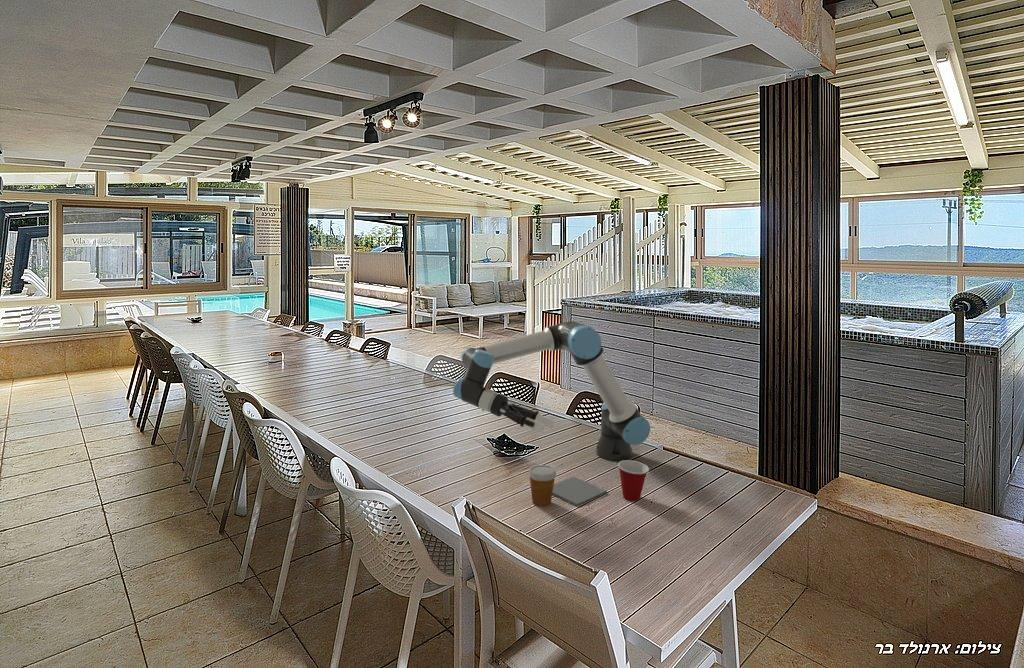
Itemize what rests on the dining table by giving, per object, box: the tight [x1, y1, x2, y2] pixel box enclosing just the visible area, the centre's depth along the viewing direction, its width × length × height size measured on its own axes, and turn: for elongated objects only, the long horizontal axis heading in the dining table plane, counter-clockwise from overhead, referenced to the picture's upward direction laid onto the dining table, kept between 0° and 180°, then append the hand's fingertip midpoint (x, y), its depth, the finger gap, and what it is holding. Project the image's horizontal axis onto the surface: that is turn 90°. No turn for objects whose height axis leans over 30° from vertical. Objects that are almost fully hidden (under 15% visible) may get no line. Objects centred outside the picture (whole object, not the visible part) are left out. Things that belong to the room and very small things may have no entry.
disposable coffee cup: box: [527, 464, 557, 508], centre depth 195 cm, size 10×10×12 cm
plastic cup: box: [617, 459, 650, 502], centre depth 200 cm, size 11×11×12 cm
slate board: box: [552, 476, 608, 507], centre depth 205 cm, size 16×16×1 cm
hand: (548, 426), depth 196 cm, fingers open, 13 cm apart
